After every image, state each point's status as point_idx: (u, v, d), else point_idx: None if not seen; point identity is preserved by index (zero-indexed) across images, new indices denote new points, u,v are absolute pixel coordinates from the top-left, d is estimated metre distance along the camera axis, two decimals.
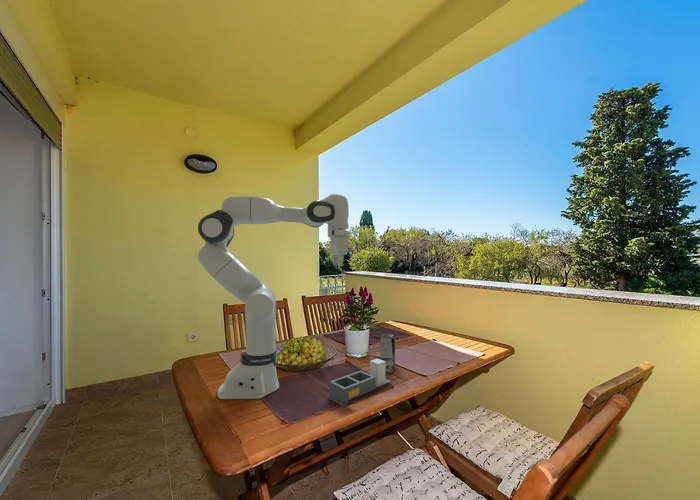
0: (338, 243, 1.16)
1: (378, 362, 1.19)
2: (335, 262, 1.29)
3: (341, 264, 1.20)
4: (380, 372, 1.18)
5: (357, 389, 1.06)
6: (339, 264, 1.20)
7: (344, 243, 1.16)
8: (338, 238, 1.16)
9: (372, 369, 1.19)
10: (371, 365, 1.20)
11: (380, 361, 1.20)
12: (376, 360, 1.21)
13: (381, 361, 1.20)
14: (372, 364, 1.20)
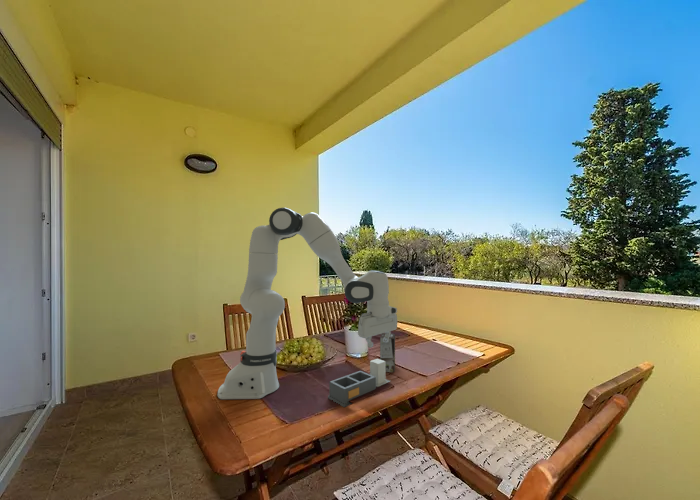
0: None
1: (378, 362, 1.19)
2: None
3: None
4: (380, 372, 1.18)
5: (357, 389, 1.06)
6: None
7: None
8: None
9: (372, 369, 1.19)
10: (371, 365, 1.20)
11: (380, 361, 1.20)
12: (376, 360, 1.21)
13: (381, 361, 1.20)
14: (372, 364, 1.20)
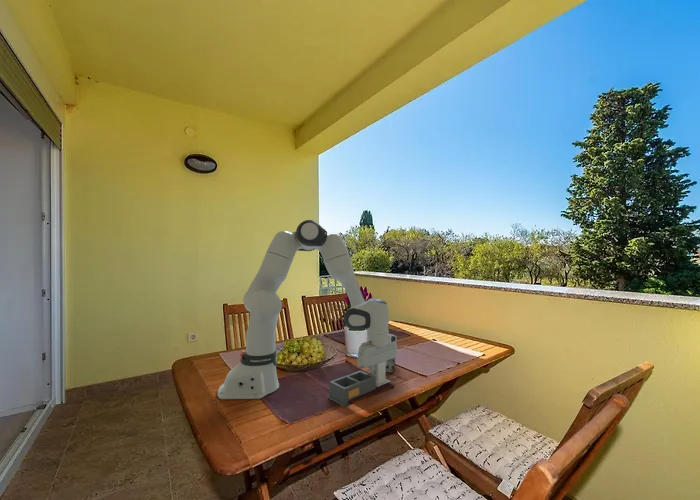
0: None
1: None
2: None
3: None
4: (380, 372, 1.18)
5: (357, 389, 1.06)
6: None
7: None
8: None
9: None
10: None
11: None
12: None
13: None
14: None
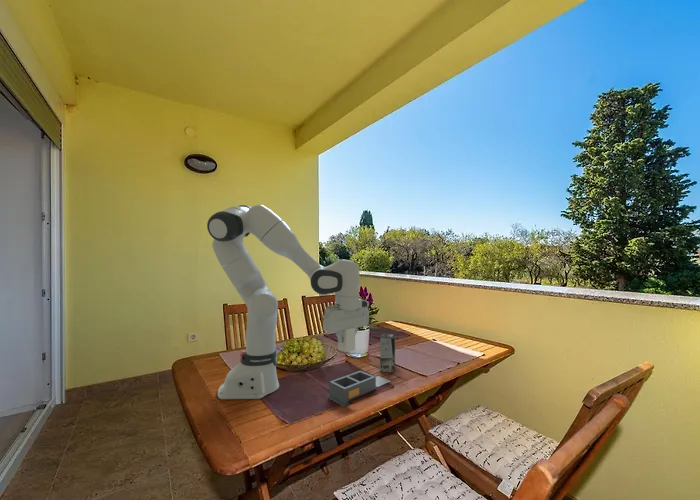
0: None
1: None
2: None
3: None
4: (349, 339, 1.07)
5: (357, 389, 1.06)
6: None
7: None
8: None
9: None
10: None
11: None
12: None
13: None
14: None
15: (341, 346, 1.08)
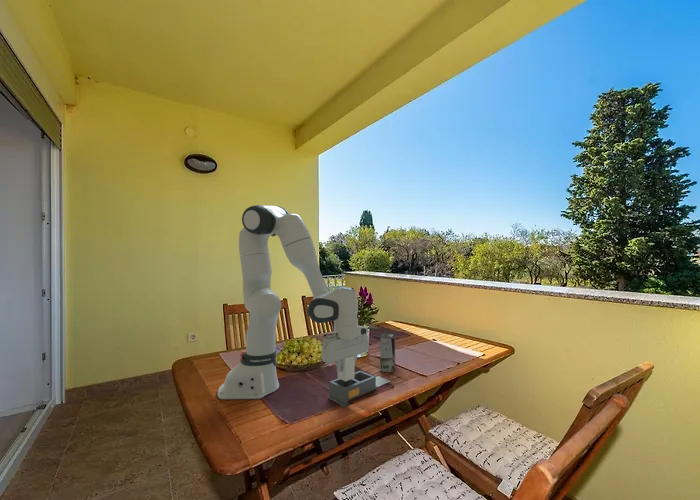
0: None
1: None
2: None
3: None
4: (348, 368, 1.06)
5: (357, 389, 1.06)
6: None
7: None
8: None
9: None
10: None
11: None
12: None
13: (350, 356, 1.08)
14: None
15: (340, 375, 1.07)
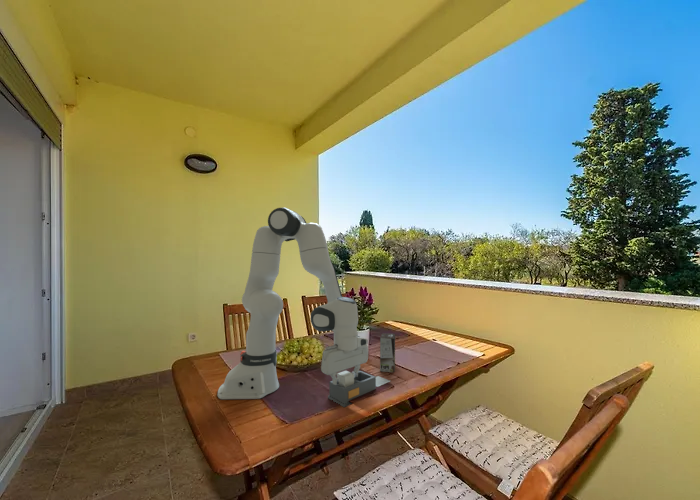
0: None
1: (345, 375, 1.07)
2: None
3: None
4: None
5: (357, 389, 1.06)
6: None
7: None
8: None
9: (339, 382, 1.08)
10: (338, 378, 1.08)
11: (348, 374, 1.08)
12: (344, 372, 1.09)
13: (349, 374, 1.08)
14: (339, 377, 1.08)
15: None
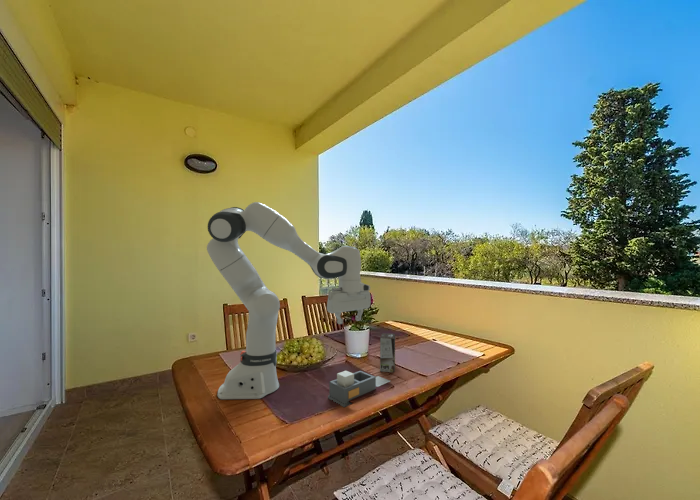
0: None
1: (345, 375, 1.07)
2: None
3: None
4: None
5: (357, 389, 1.06)
6: None
7: None
8: None
9: (339, 382, 1.08)
10: (338, 378, 1.08)
11: (348, 374, 1.08)
12: (344, 372, 1.09)
13: (349, 374, 1.08)
14: (339, 377, 1.08)
15: None
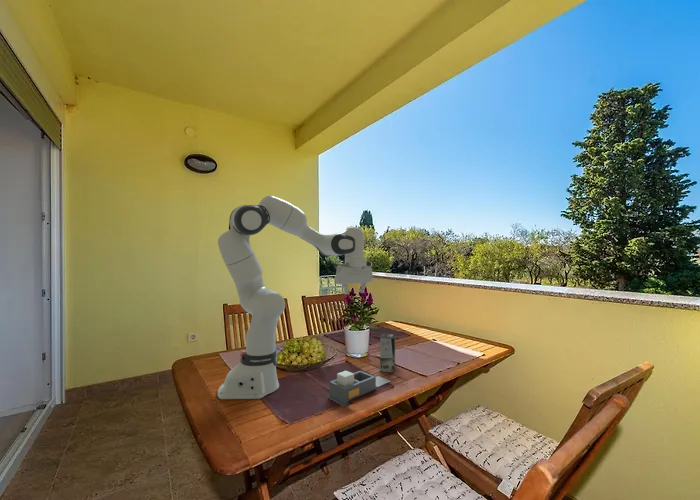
0: None
1: (345, 375, 1.07)
2: None
3: None
4: None
5: (357, 389, 1.06)
6: None
7: None
8: None
9: (339, 382, 1.08)
10: (338, 378, 1.08)
11: (348, 374, 1.08)
12: (344, 372, 1.09)
13: (349, 374, 1.08)
14: (339, 377, 1.08)
15: None
